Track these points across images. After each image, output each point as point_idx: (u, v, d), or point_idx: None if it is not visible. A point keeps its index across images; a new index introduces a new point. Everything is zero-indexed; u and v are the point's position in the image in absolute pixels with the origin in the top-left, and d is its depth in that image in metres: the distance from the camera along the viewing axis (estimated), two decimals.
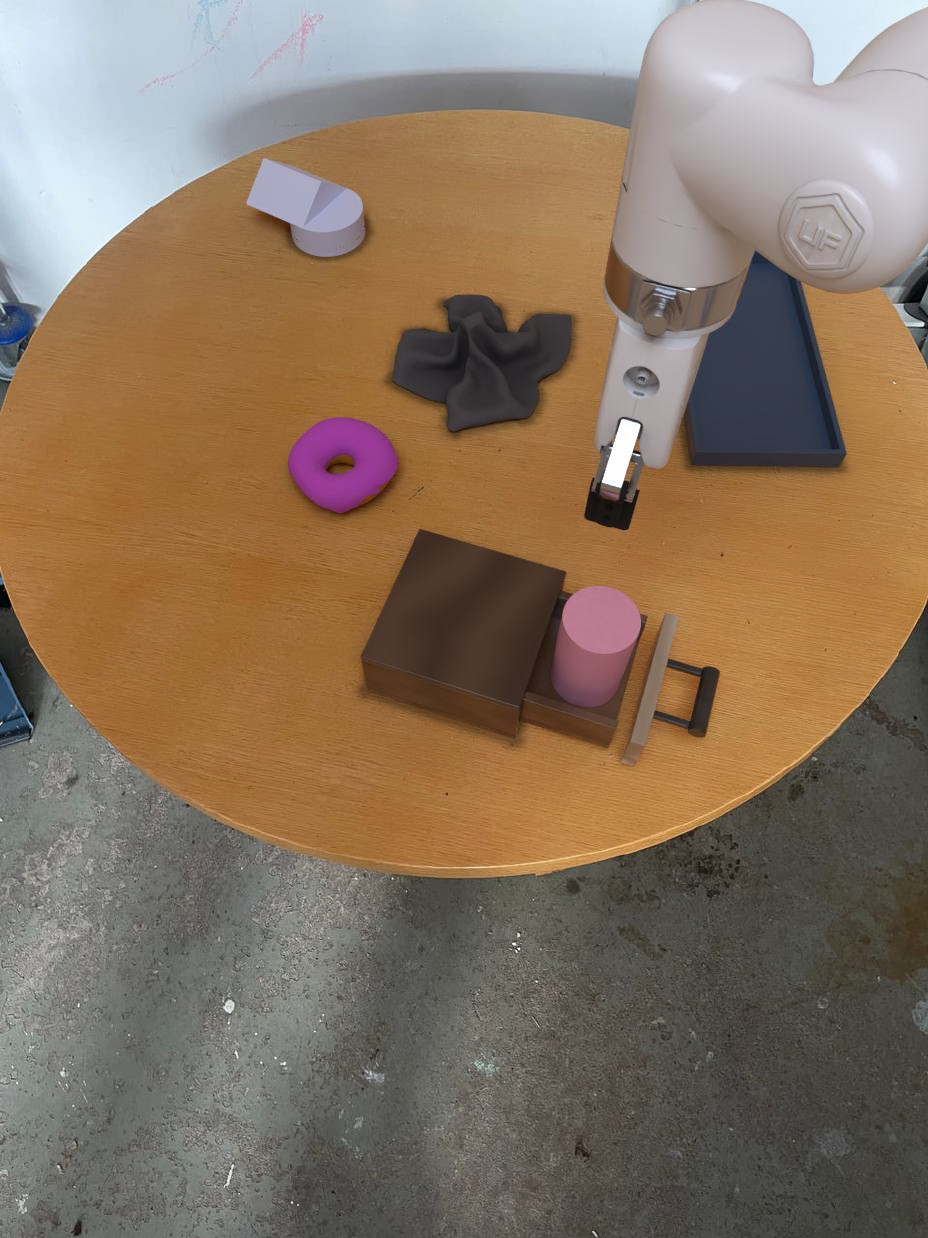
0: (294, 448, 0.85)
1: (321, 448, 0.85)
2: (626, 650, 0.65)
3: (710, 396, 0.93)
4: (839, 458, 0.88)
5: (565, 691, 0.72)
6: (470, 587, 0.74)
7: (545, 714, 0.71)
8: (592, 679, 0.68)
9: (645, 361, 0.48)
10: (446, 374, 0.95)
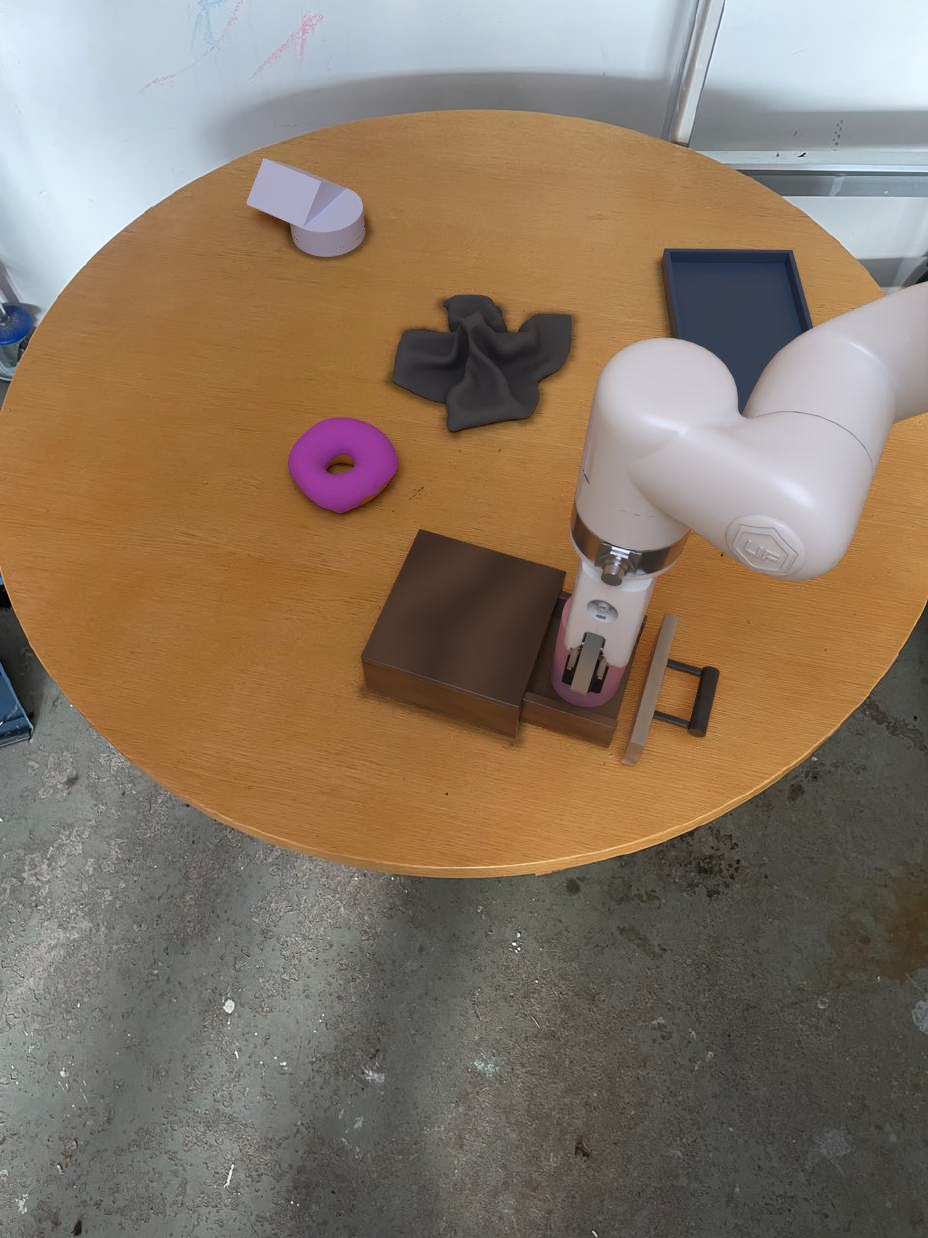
0: (294, 448, 0.85)
1: (321, 448, 0.85)
2: None
3: None
4: None
5: (565, 691, 0.72)
6: (470, 587, 0.74)
7: (545, 714, 0.71)
8: None
9: (605, 597, 0.55)
10: (446, 374, 0.95)
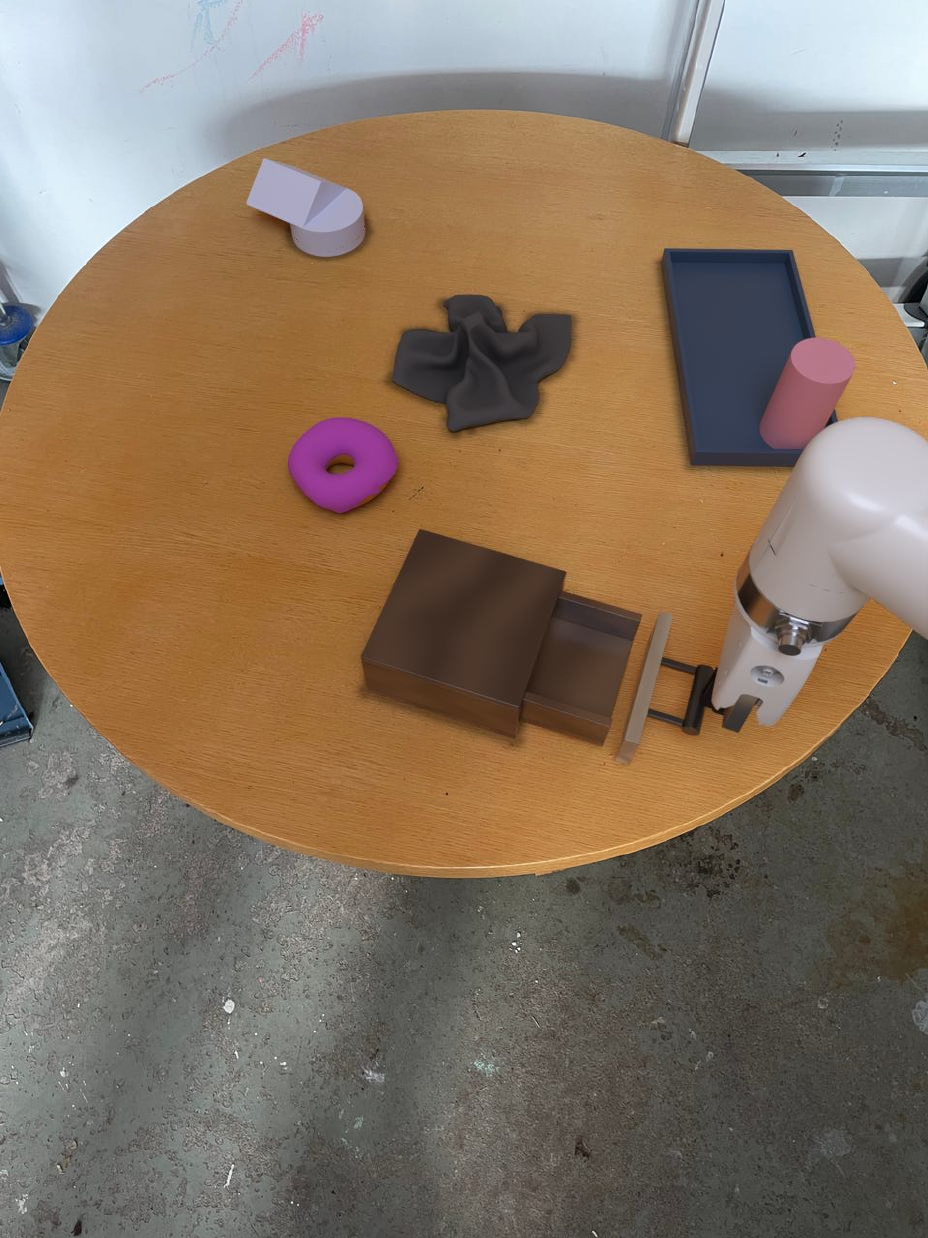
0: (294, 448, 0.85)
1: (321, 448, 0.85)
2: (844, 383, 0.81)
3: (710, 396, 0.93)
4: None
5: (777, 437, 0.88)
6: (470, 587, 0.74)
7: (539, 712, 0.71)
8: (809, 416, 0.84)
9: (773, 664, 0.55)
10: (446, 374, 0.95)
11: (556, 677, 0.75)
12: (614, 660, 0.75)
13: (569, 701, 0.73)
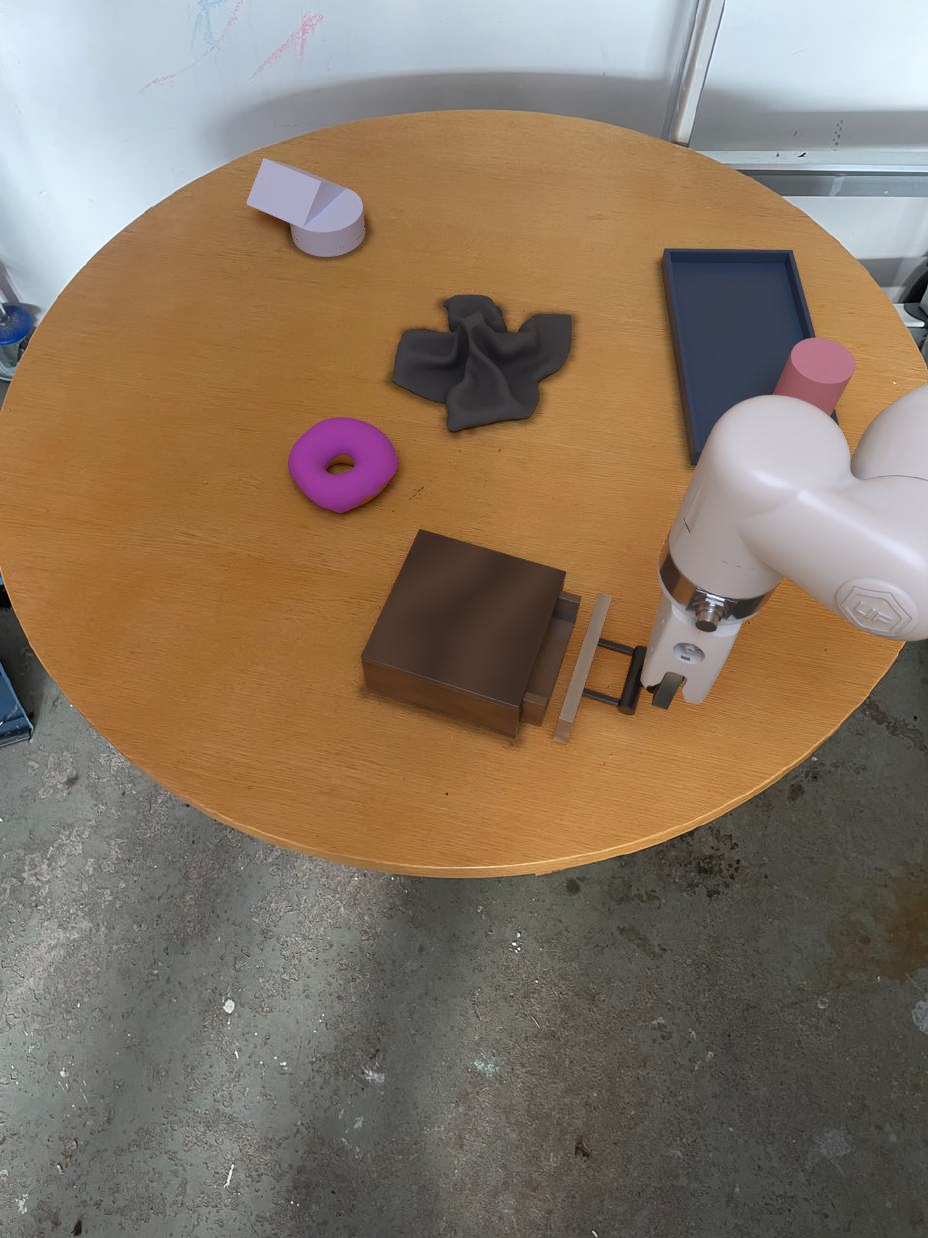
0: (294, 448, 0.85)
1: (321, 448, 0.85)
2: (844, 383, 0.81)
3: (710, 396, 0.93)
4: None
5: None
6: (470, 587, 0.74)
7: None
8: None
9: (693, 641, 0.56)
10: (446, 374, 0.95)
11: None
12: (555, 642, 0.76)
13: None
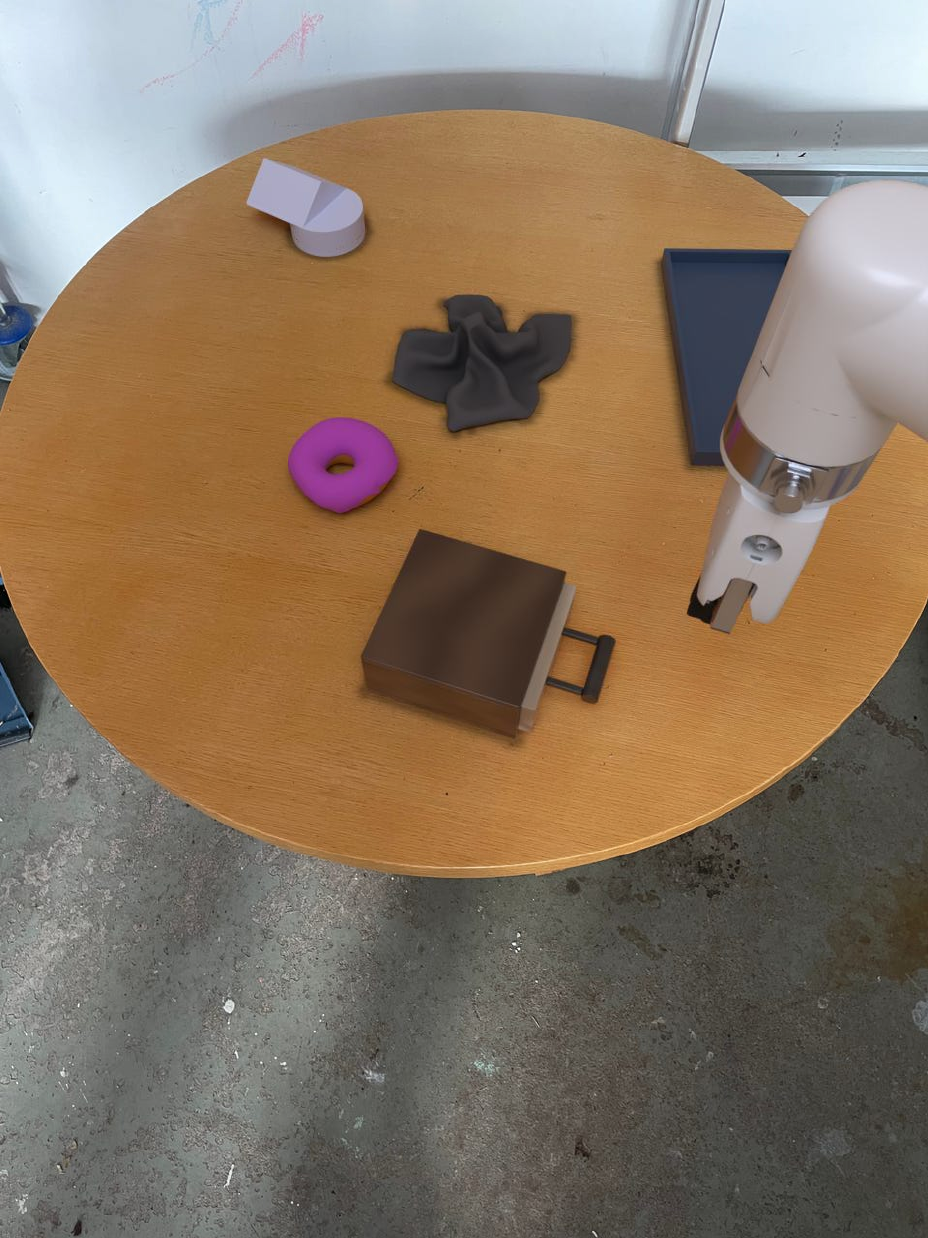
0: (294, 448, 0.85)
1: (321, 448, 0.85)
2: None
3: (710, 396, 0.93)
4: None
5: None
6: (470, 587, 0.74)
7: None
8: None
9: (768, 531, 0.45)
10: (446, 374, 0.95)
11: None
12: None
13: None
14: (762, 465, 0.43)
